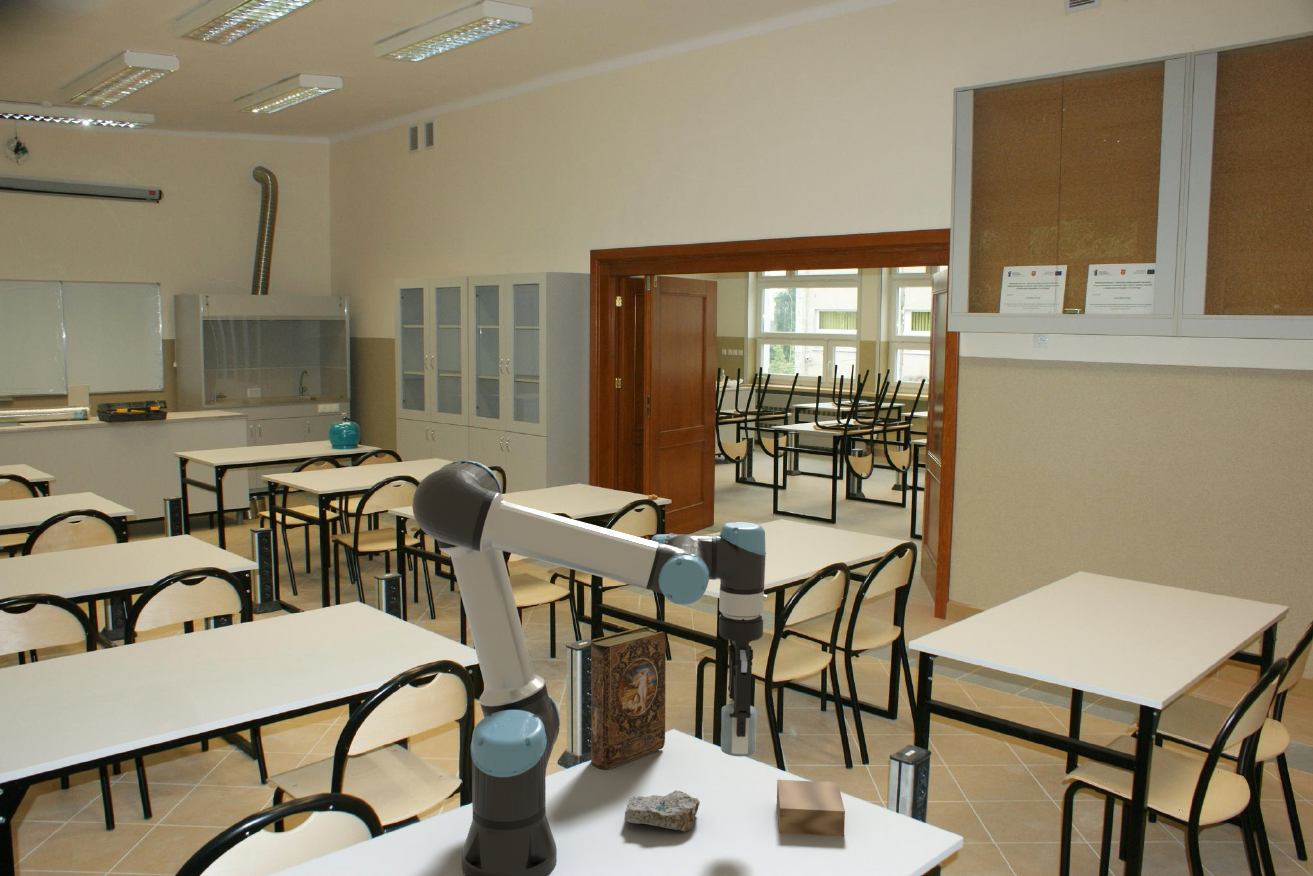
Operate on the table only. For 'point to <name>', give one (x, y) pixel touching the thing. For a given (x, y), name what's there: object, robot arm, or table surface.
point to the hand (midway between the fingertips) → (737, 744)
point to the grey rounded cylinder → (727, 731)
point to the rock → (663, 810)
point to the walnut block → (810, 808)
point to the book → (627, 696)
